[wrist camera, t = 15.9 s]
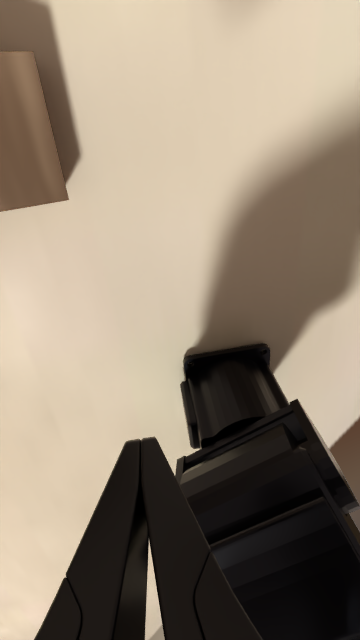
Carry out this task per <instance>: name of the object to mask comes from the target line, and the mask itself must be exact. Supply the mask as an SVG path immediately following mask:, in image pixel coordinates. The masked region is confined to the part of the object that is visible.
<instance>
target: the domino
mask: <svg viewBox="0 0 360 640" xmlns="http://www.w3.org/2000/svg"><path fill="white" fill-rule="evenodd" d="M66 200H69V198H68V194H67V190H66V186H65V182H64V178H63V173H62V169H61V165H60V161H59V157H58V153H57V148H56V144H55V140H54V136H53V132H52V128H51V123H50V119H49V115H48V111H47V107H46V103H45V98H44V94H43V90H42V86H41V82H40V78H39V74H38V69H37V65H36V61H35V57H34V53H33V51H0V212H1V211H7V210H13V209H19V208H25V207H31V206H36V205H42V204H48V203H54V202H60V201H66Z"/></svg>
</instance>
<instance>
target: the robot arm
mask: <svg viewBox="0 0 360 640" xmlns="http://www.w3.org/2000/svg"><path fill="white" fill-rule="evenodd" d="M262 350H264V351H262ZM261 351H262V352H261ZM189 362H192V363H191V364H188V363H189ZM183 365H184V372H185V379H186V381H182V383H181V384H180V386H181V393H182V399H183V406H184V412H185V417H186V423H187V428H188V434H189V440H190V445H191V447H192V448H193V449H197V448H200V450H198V451H196V452H195V453H193V454H191V455H189V456H187V457H186V456H183V457H181V458H179V459H177V466H176V475H174V473H173V471H172V469H171V467H170V465H169V463H168V461H167V459H166V457H165V455H164V453H163V451H162V449H161V447H160V445H159V443H158V441H157V439H156V438H155V437H149V438H143V439H142V440H140V439H135V440H129V441H127V442H126V443H125V444H124V447H123V449H122V451H121V453H120V455H119V458H118V460H117V462H116V464H115V466H114V469H113V471H112V473H111V475H110V477H109V480H108V482H107V484H106V486H105V488H104V491H103V493H102V495H101V497H100V499H99V502H98V504H97V506H96V508H95V511H94V513H93V515H92V517H91V519H90V522H89V524H88V526H87V528H86V530H85V533H84V535H83V537H82V539H81V541H80V544H79V546H78V548H77V550H76V552H75V555H74V557H73V559H72V561H71V563H70V566H69V568H68V570H67V572H66V577H67V578H66V577H65V578H64V579H63V581H62V583H61V585H60V587H59V590H58V592H57V594H56V596H55V598H54V600H53V603H52V605H51V607H50V609H49V611H48V613H47V615H46V617H45V619H44V621H43V623H42V625H41V627H40V629H39V631H38V633H37V635H36V637H35V639H34V640H145V619H146V594H147V570H148V545H149V541H150V547H151V554H152V560H153V566H154V573H155V579H156V586H157V592H158V599H159V605H160V611H161V618H162V624H163V630H164V637H165V640H360V531H359V530H358V528H357V526H356V525H355V523H354V521H353V519H352V517H351V516H350V514H349V513H351V512H353V511H356V510H358V509H360V505H359V503H358V502H357V499H356V498H355V496H354V494H353V492H352V490H351V488H350V486H349V484H348V482H347V481H346V479H345V477H344V475H343V473H342V471H341V469H340V467H339V466H338V464H337V462H336V461H335V459H334V457H333V456H332V454H331V452H330V450H329V449H328V447H327V445H326V444H325V442H324V440H323V439H322V437H321V435H320V434H319V432H318V431H317V429H316V427H315V426H314V424H313V423H312V421H311V420H310V418H309V416H308V415H307V413H306V412H305V410H304V409H303V407H302V405H301V404H300V402H299V401H298V399H296V400H294V401H292V402H290V405H289V403H288V401H287V399H286V397H285V395H284V394H283V392H282V390H281V388H280V386H279V384H278V382H277V381H276V379H275V377H274V375H273V373H272V371H271V369H270V368H269V365H270V349H269V347H268V345H267V344H257V345H251V346H245V347H239V348H233V349H227V350H221V351H215V352H209V353H203V354H197V355H192V356H187V357H186V358H184V360H183Z"/></svg>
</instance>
